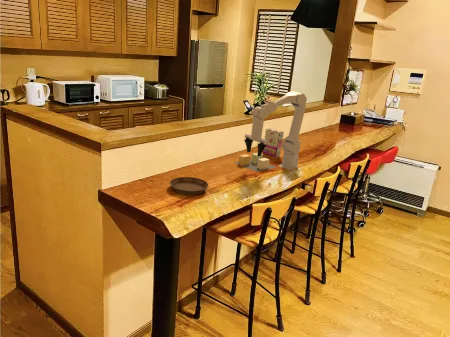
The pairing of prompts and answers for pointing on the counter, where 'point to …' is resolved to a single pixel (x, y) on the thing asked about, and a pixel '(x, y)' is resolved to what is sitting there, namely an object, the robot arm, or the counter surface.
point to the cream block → (263, 163)
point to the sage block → (256, 157)
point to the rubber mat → (255, 166)
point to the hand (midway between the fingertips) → (253, 153)
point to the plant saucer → (189, 185)
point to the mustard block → (244, 159)
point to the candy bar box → (273, 142)
